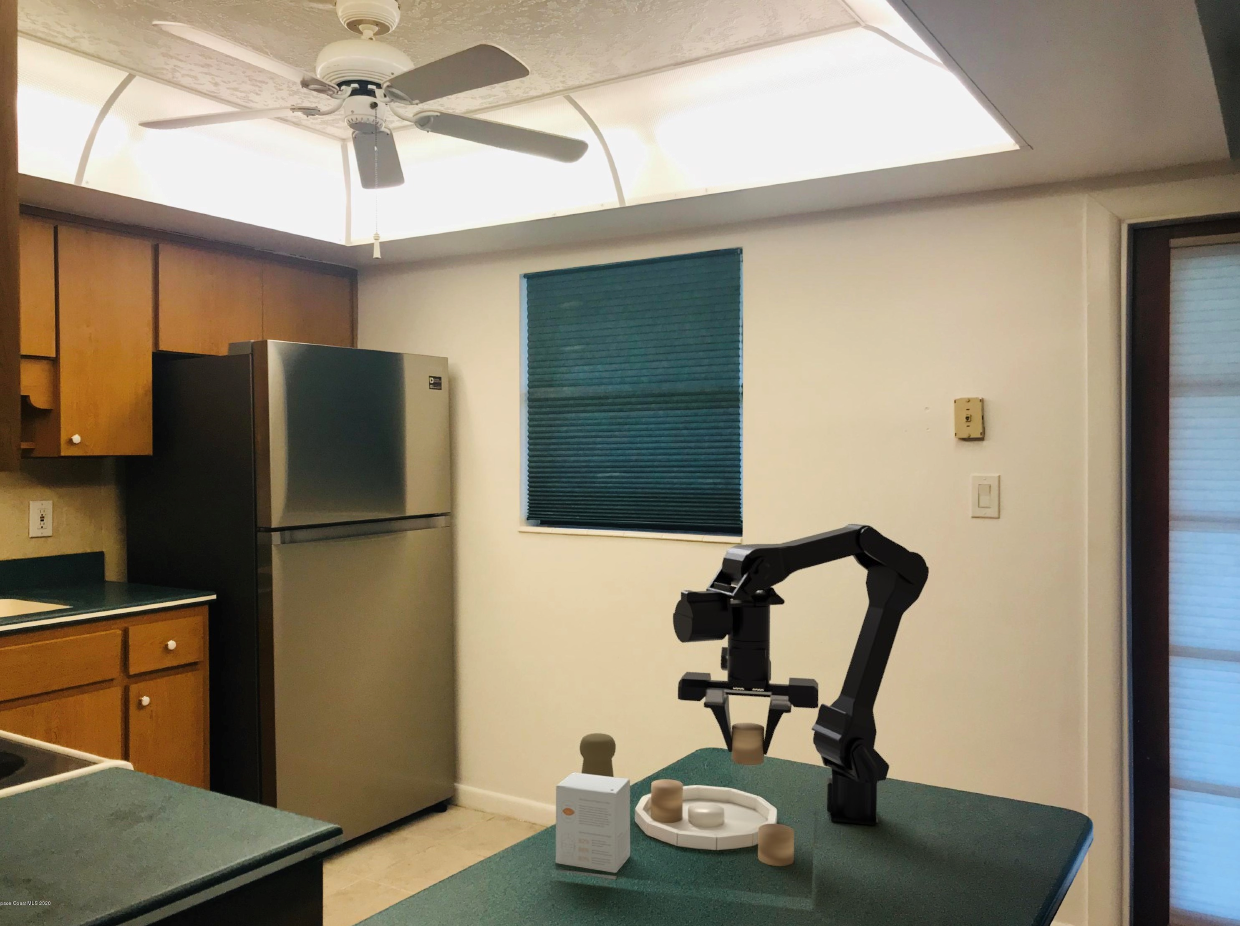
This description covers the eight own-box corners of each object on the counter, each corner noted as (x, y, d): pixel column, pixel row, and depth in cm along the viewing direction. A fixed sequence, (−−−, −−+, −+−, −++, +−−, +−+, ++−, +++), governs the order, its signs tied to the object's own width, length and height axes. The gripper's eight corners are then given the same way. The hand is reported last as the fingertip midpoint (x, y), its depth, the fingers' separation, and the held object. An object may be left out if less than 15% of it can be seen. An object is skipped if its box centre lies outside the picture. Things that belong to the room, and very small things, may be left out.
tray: (779, 810, 133) (779, 792, 133) (771, 863, 115) (772, 842, 115) (650, 798, 138) (651, 780, 138) (623, 847, 119) (624, 827, 119)
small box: (630, 862, 115) (632, 778, 115) (615, 881, 109) (617, 792, 109) (571, 853, 117) (572, 770, 117) (553, 870, 112) (555, 784, 112)
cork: (612, 821, 128) (614, 742, 128) (571, 817, 129) (572, 739, 129) (621, 806, 134) (622, 730, 134) (581, 802, 135) (582, 727, 135)
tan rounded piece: (763, 766, 122) (763, 732, 122) (730, 763, 123) (730, 730, 123) (764, 756, 127) (765, 723, 127) (732, 754, 128) (733, 721, 128)
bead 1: (684, 812, 129) (685, 780, 129) (679, 824, 125) (680, 791, 125) (653, 809, 130) (654, 777, 130) (648, 821, 126) (648, 788, 126)
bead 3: (794, 861, 116) (794, 825, 116) (793, 875, 112) (793, 838, 112) (759, 857, 117) (759, 822, 117) (756, 871, 113) (757, 835, 113)
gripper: (818, 631, 131) (817, 740, 131) (688, 625, 135) (687, 731, 135) (818, 645, 120) (817, 764, 120) (677, 638, 124) (676, 754, 124)
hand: (747, 752), depth 125 cm, fingers closed on tan rounded piece, 4 cm apart
